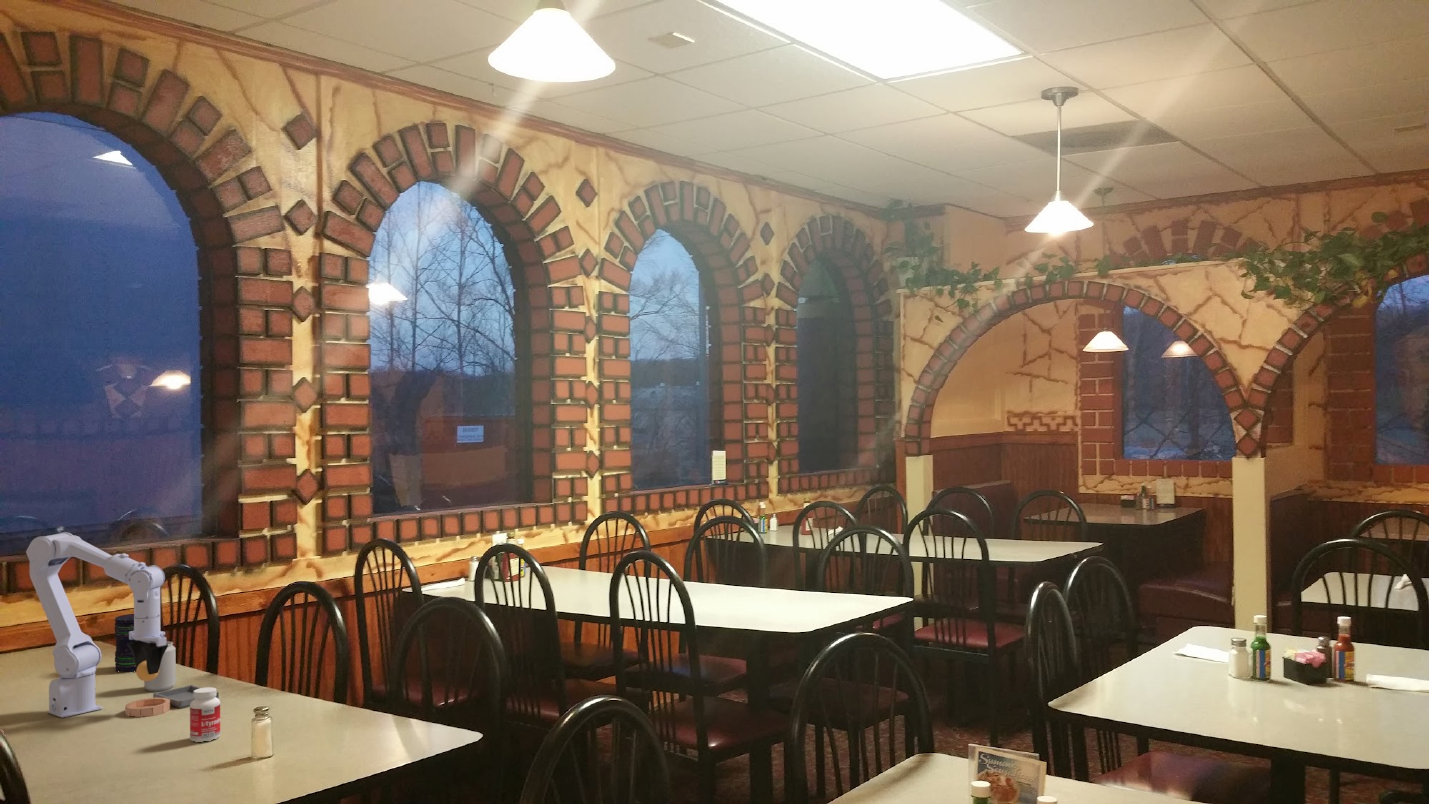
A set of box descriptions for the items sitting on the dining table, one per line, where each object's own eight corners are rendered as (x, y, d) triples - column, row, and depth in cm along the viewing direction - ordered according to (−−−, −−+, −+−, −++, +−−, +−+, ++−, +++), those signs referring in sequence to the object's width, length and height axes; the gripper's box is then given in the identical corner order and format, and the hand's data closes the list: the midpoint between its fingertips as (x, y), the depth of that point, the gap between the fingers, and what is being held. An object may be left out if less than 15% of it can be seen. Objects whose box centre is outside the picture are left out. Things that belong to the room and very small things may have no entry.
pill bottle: (201, 744, 237) (201, 694, 237) (184, 740, 240) (183, 691, 240) (226, 737, 242) (226, 688, 242) (209, 733, 245) (208, 684, 245)
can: (166, 692, 281) (166, 646, 281) (138, 692, 281) (137, 646, 281) (181, 684, 288) (181, 640, 288) (153, 684, 288) (153, 640, 288)
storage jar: (122, 665, 310) (121, 613, 310) (158, 663, 312) (158, 612, 312) (109, 673, 301) (108, 620, 301) (147, 672, 302) (146, 619, 302)
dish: (137, 719, 257) (137, 710, 257) (118, 712, 262) (118, 704, 262) (177, 709, 264) (177, 701, 264) (157, 703, 270) (157, 695, 270)
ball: (142, 684, 260) (142, 663, 260) (132, 681, 263) (132, 661, 263) (163, 679, 264) (162, 659, 264) (153, 677, 267) (152, 657, 267)
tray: (179, 708, 265) (179, 701, 265) (153, 700, 273) (153, 693, 273) (218, 699, 273) (218, 692, 273) (191, 691, 281) (191, 685, 281)
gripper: (178, 617, 262) (179, 672, 262) (149, 610, 271) (149, 664, 271) (149, 622, 257) (149, 678, 257) (120, 615, 265) (120, 670, 265)
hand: (147, 671), depth 263 cm, fingers closed on ball, 5 cm apart
